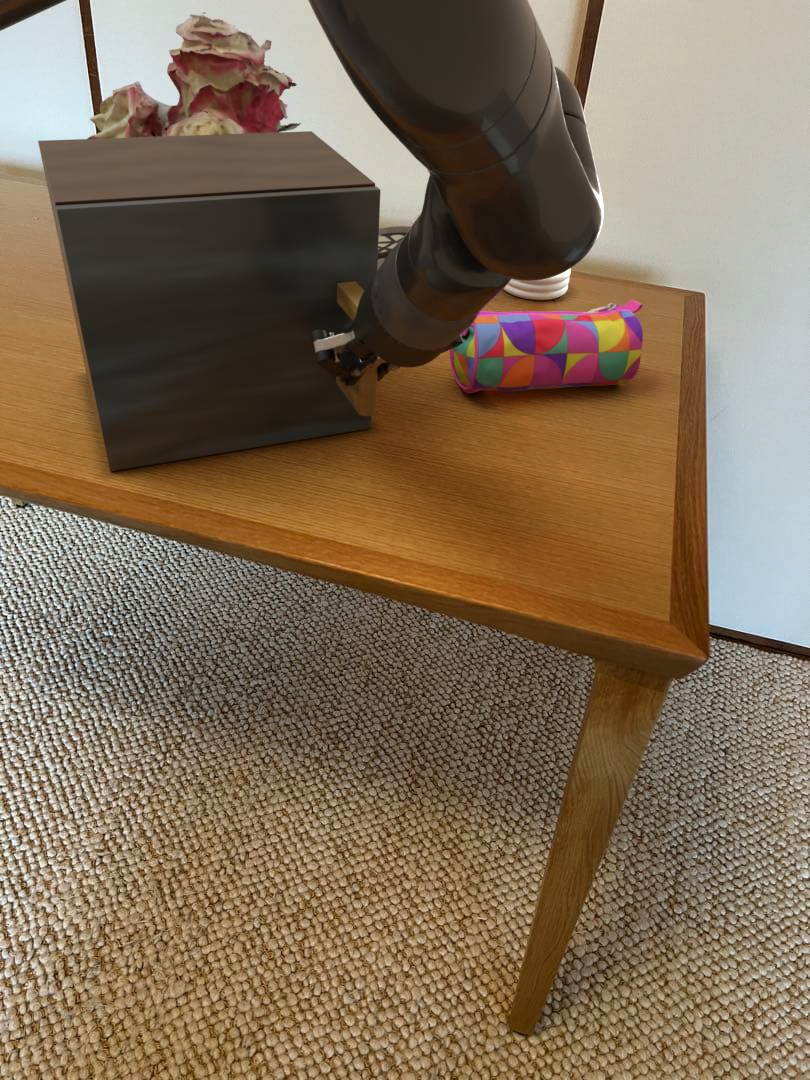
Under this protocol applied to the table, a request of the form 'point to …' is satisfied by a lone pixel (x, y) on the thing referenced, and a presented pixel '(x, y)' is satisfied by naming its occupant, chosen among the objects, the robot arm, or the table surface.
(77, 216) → the door
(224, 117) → the rose bouquet
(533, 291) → the white stacked discs
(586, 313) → the pencil case
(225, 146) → the cupboard
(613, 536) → the table surface
